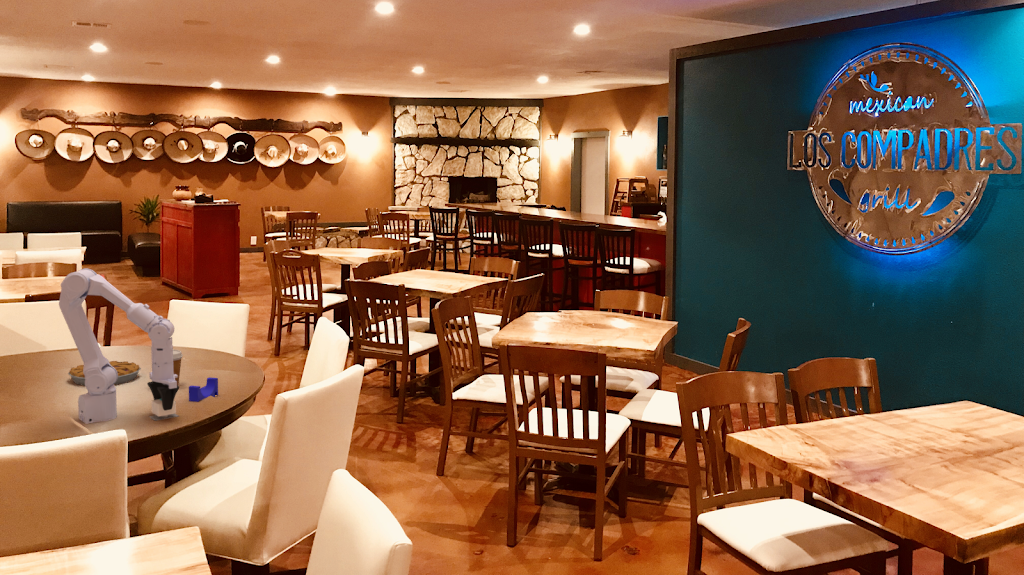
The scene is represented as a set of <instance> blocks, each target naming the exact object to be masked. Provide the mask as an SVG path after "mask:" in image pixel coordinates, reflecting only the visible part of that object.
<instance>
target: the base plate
mask: <svg viewBox="0 0 1024 575" xmlns="http://www.w3.org/2000/svg"><path fill="white" fill-rule="evenodd" d="M178 417H179V415H178V414H177V413H175V414H170V415H168V417H165V418H163V417H162V416H157V415H155V414H153V415H151V416H150V415H149V416H148V418H150V419H151V420H154V422H155V421H156V422H157V421H162V420H166V419H173V418H178Z"/></svg>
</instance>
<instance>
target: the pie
mask: <svg viewBox="0 0 1024 575" xmlns="http://www.w3.org/2000/svg"><path fill="white" fill-rule="evenodd" d="M109 363H110V364H111V366H112V367H114V368H115V369H116V371H117V373H118V378H117V381H116V382H115V383H114V384H116V385H120V383H121V384H124V383H129V382H130V381H134V380H135V379H136V378H137V376H138V374H139V372H140V371H141V369H142V368H141V367H140V365H139V364H136V363H135V362H129V361H118V360H111V361H109ZM83 368H84V364H79V365H77V366H76V367H71V368H70V370H69V372H68V373H67V374H68V375H69V376H70V377H71V379H72V381H73V382H74V384H76V385H81V386H85V375H84V373H83Z"/></svg>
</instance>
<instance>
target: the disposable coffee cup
mask: <svg viewBox="0 0 1024 575" xmlns="http://www.w3.org/2000/svg"><path fill="white" fill-rule="evenodd" d="M183 356H184V354H182V351H181V350H179V349H173V372H174V374H176V375H178V377H177V378H175V380H176V381H177V385H178V386H179V385H180V384H179V382H180V374H181V365H182V359H183Z"/></svg>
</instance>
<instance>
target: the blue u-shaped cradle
mask: <svg viewBox="0 0 1024 575" xmlns="http://www.w3.org/2000/svg"><path fill="white" fill-rule="evenodd" d="M215 395H218V396H219V378H218V377H210V376H209V377H207V378H206V385H204V386H200V385H189V386H188V401H189V402H193V403H194V402H196V403H199V402H200V401H203V400H205V399H206V398H209V397H213V398H216V397H215Z"/></svg>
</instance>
